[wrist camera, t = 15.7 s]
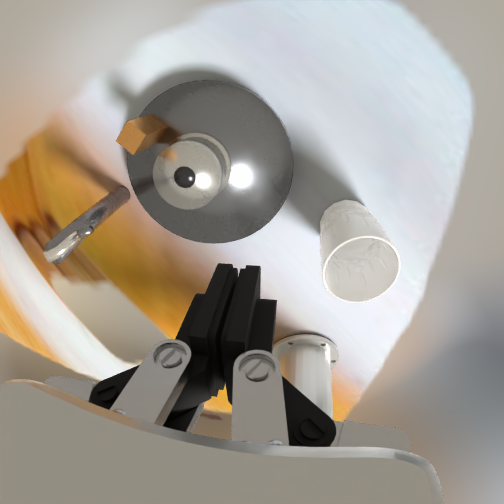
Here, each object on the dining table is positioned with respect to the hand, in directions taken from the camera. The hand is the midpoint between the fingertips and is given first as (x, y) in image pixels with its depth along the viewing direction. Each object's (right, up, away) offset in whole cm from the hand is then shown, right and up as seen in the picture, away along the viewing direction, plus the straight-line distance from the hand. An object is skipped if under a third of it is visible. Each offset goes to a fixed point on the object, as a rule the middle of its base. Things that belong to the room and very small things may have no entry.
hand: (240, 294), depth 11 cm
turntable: (-4, +12, +19) cm, 23 cm away
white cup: (+12, +5, +22) cm, 26 cm away
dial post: (-17, +10, +23) cm, 31 cm away
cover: (-5, +11, +18) cm, 21 cm away
